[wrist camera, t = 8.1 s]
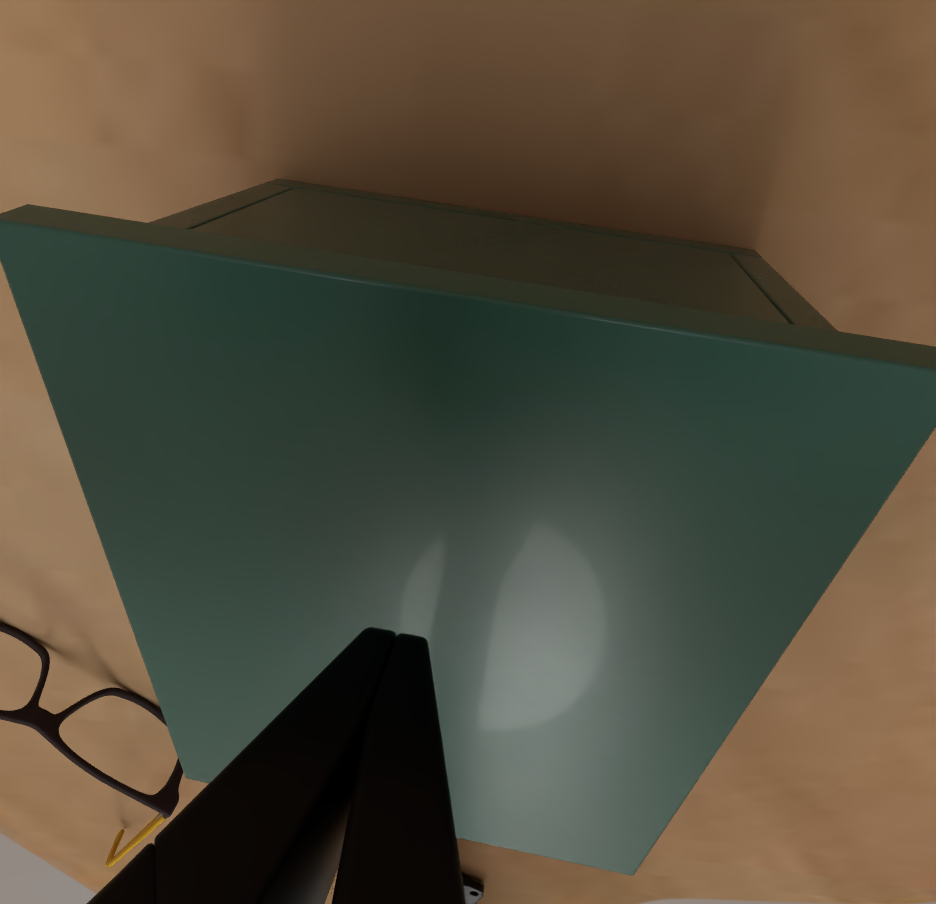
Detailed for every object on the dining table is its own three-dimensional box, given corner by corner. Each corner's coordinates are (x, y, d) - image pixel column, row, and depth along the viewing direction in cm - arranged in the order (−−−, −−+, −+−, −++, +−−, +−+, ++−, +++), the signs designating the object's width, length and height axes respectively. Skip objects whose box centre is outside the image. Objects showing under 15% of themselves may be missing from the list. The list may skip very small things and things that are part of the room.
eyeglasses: (220, 732, 31) (176, 814, 27) (125, 830, 38) (80, 904, 34) (-59, 579, 28) (-148, 649, 24) (-106, 716, 35) (-180, 785, 31)
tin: (276, 178, 16) (96, 238, 10) (755, 250, 16) (874, 363, 9) (295, 578, 24) (200, 750, 18) (616, 640, 23) (631, 843, 17)
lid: (27, 202, 9) (-18, 217, 8) (942, 346, 8) (974, 375, 7) (199, 751, 18) (184, 778, 17) (632, 844, 17) (633, 876, 16)
